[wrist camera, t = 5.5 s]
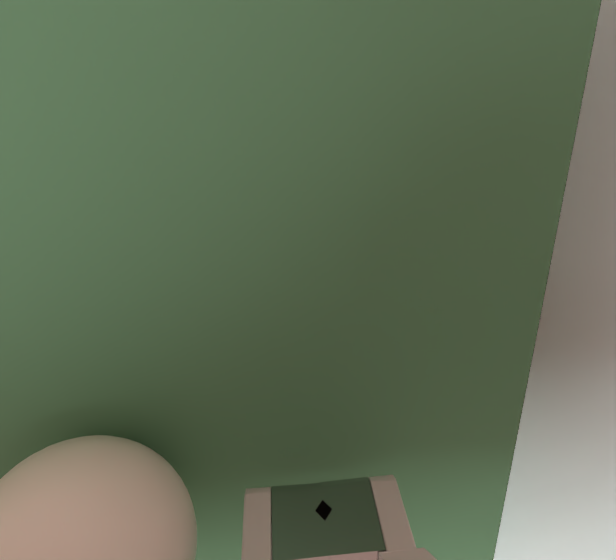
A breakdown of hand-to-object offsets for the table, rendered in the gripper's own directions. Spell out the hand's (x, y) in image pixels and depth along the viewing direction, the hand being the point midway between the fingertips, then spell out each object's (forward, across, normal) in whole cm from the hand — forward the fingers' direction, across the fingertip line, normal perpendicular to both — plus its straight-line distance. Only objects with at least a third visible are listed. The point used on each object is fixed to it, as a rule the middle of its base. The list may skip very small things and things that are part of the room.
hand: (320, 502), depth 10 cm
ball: (-1, +4, 0) cm, 4 cm away
